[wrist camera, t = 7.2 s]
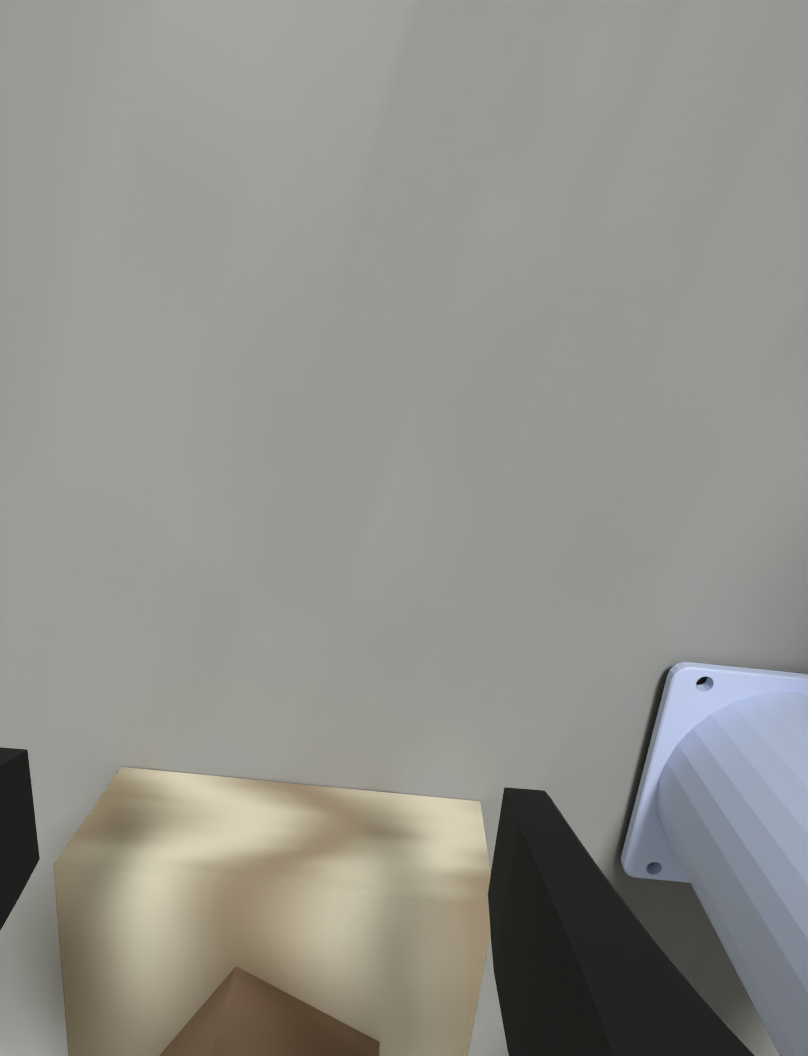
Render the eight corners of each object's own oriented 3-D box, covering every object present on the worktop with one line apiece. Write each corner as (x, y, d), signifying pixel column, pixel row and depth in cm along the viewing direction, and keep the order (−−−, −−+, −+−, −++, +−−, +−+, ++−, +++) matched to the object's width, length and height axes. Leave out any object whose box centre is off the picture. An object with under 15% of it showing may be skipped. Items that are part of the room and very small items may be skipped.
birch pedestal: (480, 801, 20) (495, 906, 17) (437, 1054, 24) (442, 1189, 20) (122, 766, 20) (53, 865, 16) (131, 1026, 24) (76, 1158, 20)
